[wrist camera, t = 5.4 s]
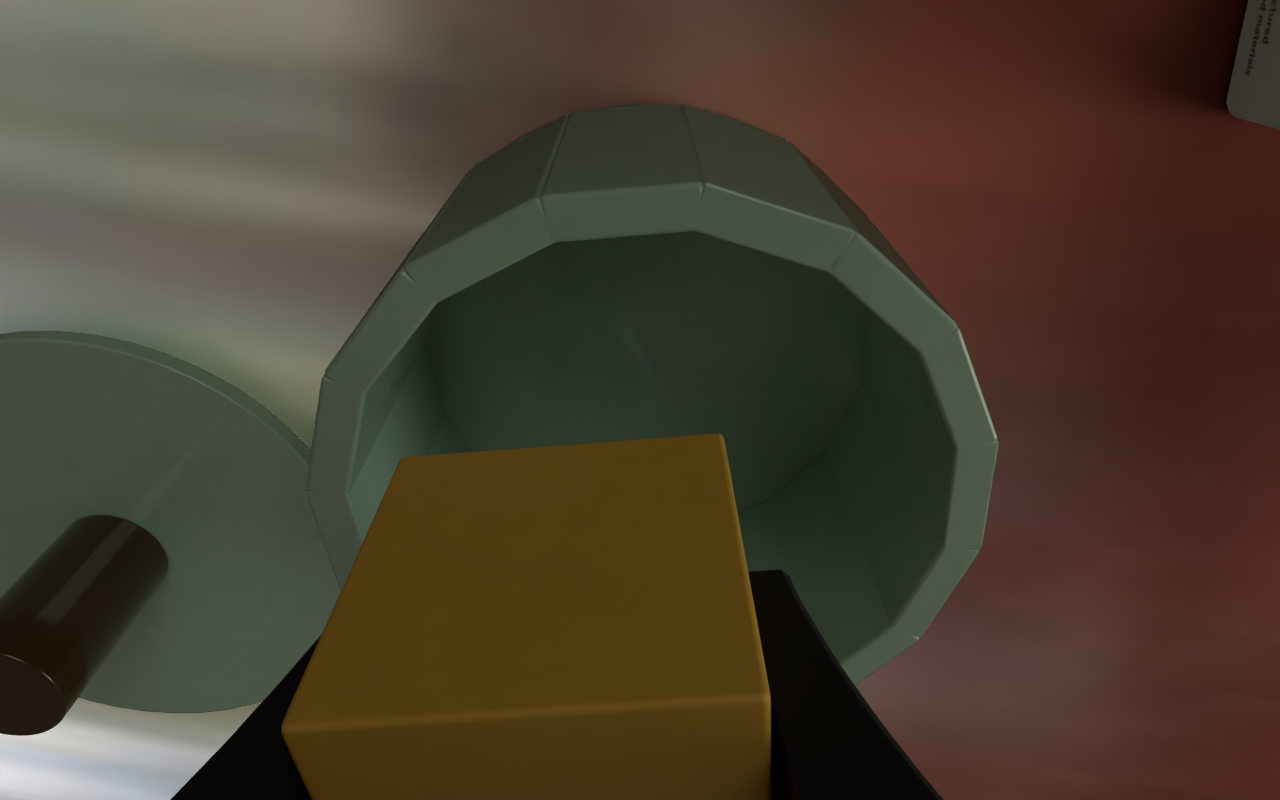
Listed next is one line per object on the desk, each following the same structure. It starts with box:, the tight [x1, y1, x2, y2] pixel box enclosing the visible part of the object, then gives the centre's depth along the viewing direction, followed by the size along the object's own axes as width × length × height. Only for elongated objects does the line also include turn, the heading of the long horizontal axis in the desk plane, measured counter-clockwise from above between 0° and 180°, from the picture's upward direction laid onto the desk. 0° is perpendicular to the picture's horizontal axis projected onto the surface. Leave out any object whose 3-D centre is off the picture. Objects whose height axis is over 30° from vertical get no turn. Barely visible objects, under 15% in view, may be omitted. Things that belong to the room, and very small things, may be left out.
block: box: [281, 433, 772, 800], centre depth 10 cm, size 4×4×4 cm
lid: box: [0, 331, 341, 735], centre depth 19 cm, size 12×12×6 cm
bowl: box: [306, 104, 999, 685], centre depth 17 cm, size 11×11×6 cm
